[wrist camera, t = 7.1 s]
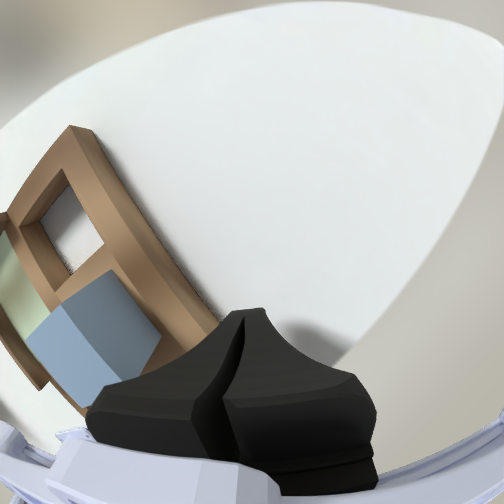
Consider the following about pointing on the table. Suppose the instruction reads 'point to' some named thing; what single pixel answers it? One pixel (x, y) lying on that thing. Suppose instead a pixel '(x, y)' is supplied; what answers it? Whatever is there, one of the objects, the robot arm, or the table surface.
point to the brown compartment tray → (105, 258)
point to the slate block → (94, 339)
